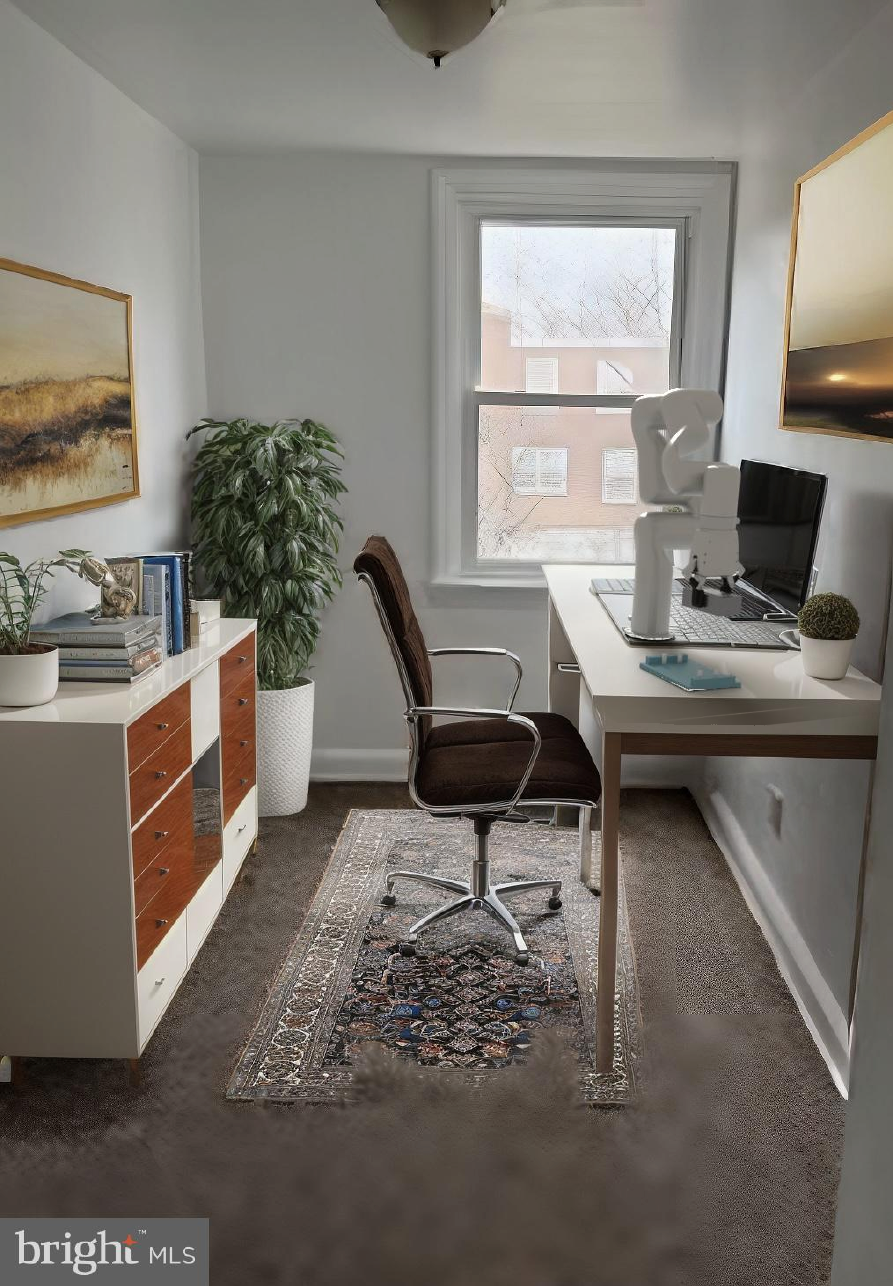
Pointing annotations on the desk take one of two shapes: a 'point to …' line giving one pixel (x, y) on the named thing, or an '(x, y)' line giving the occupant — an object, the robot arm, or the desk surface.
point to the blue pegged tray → (687, 672)
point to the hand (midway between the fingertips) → (710, 605)
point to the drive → (714, 602)
